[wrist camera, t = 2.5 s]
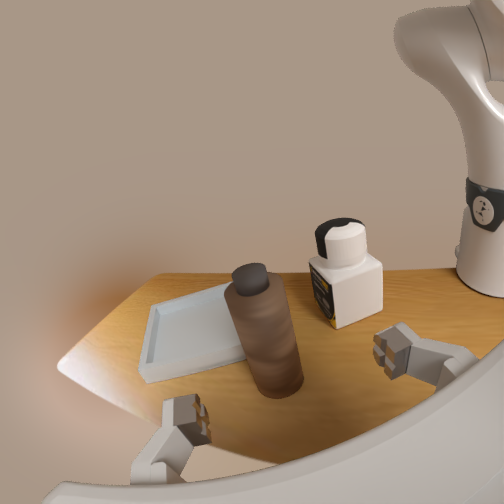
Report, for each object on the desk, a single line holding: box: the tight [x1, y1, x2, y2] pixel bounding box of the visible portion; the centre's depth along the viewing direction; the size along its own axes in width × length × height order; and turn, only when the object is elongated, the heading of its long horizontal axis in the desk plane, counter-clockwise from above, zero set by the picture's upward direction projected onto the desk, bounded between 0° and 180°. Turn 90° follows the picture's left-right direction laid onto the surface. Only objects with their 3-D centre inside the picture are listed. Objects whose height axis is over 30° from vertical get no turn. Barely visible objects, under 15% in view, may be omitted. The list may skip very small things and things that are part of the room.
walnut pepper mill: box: [224, 263, 304, 399], centre depth 25 cm, size 5×5×14 cm
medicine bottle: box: [309, 218, 383, 329], centre depth 34 cm, size 7×7×12 cm
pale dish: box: [138, 281, 247, 384], centre depth 39 cm, size 16×16×2 cm
